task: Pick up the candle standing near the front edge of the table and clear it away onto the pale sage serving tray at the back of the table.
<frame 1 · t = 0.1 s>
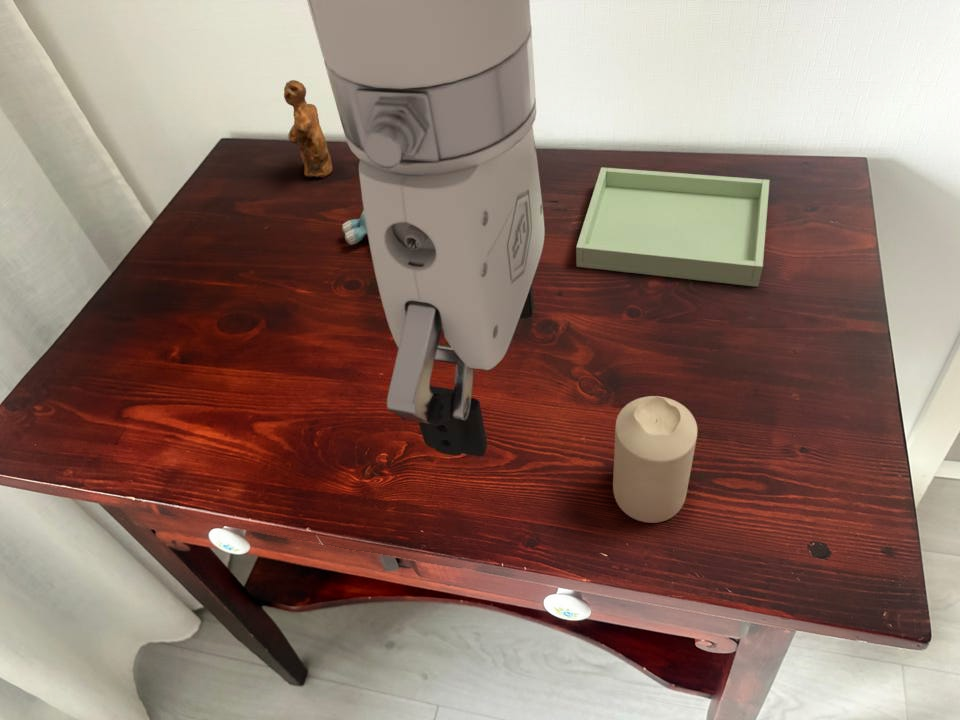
hand: (483, 374, 41), 20 cm above the table, tool pointing down, fingers open, 9 cm apart
candle: (648, 493, 58), on the table
stuffed animal: (399, 231, 83), on the table
tray: (673, 232, 77), on the table
figurine: (319, 173, 92), on the table
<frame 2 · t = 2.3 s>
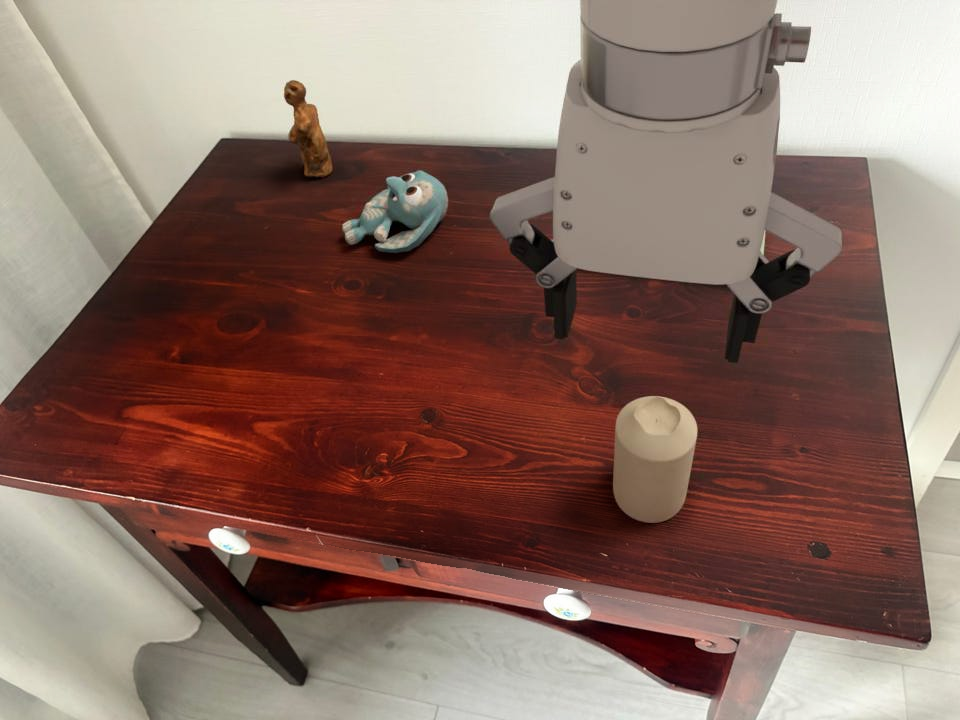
hand: (647, 332, 44), 19 cm above the table, tool pointing down, fingers open, 9 cm apart
nothing on the table moved.
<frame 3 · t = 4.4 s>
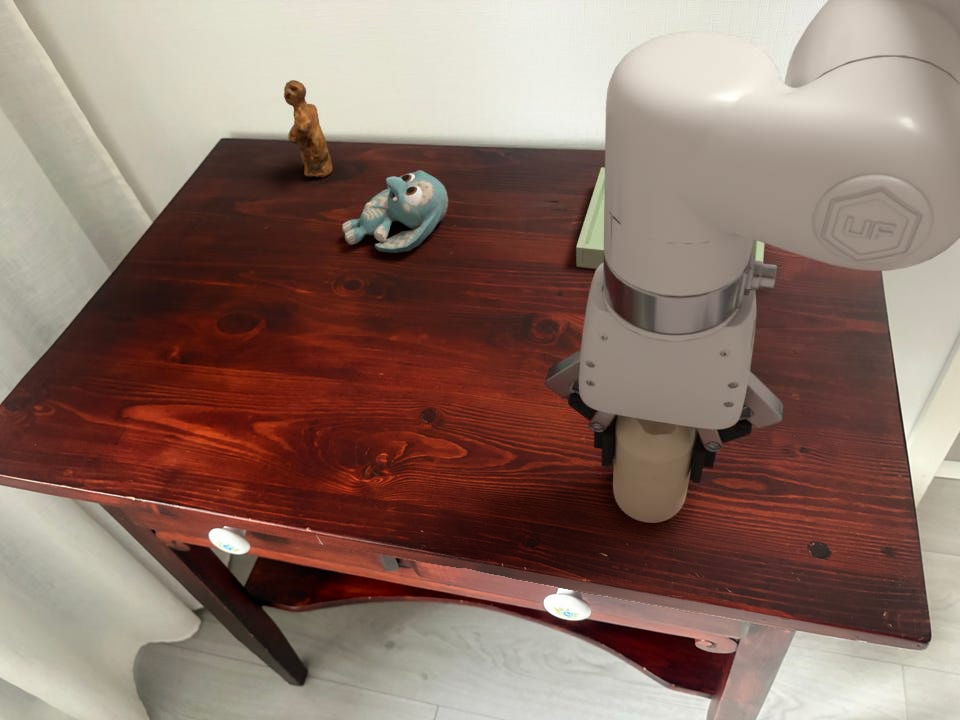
hand: (652, 456, 54), 5 cm above the table, tool pointing down, fingers closed on candle, 5 cm apart
candle: (648, 493, 58), on the table, touching gripper
everything else where it was.
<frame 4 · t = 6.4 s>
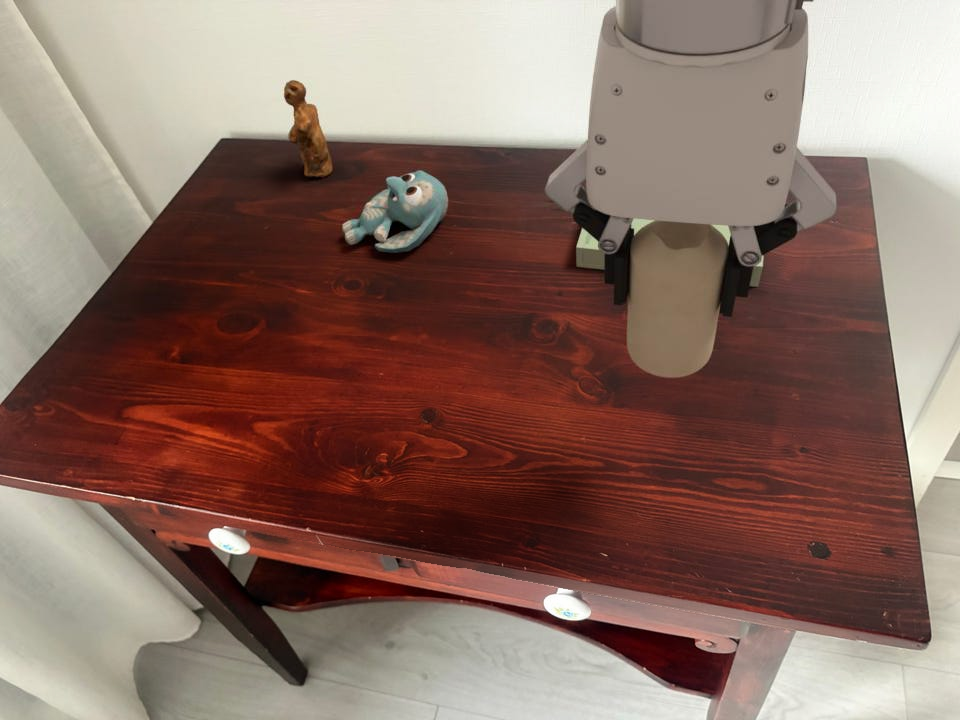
hand: (674, 292, 46), 19 cm above the table, tool pointing down, fingers closed on candle, 5 cm apart
candle: (668, 348, 50), point 14 cm above the table, touching gripper
everything else where it was.
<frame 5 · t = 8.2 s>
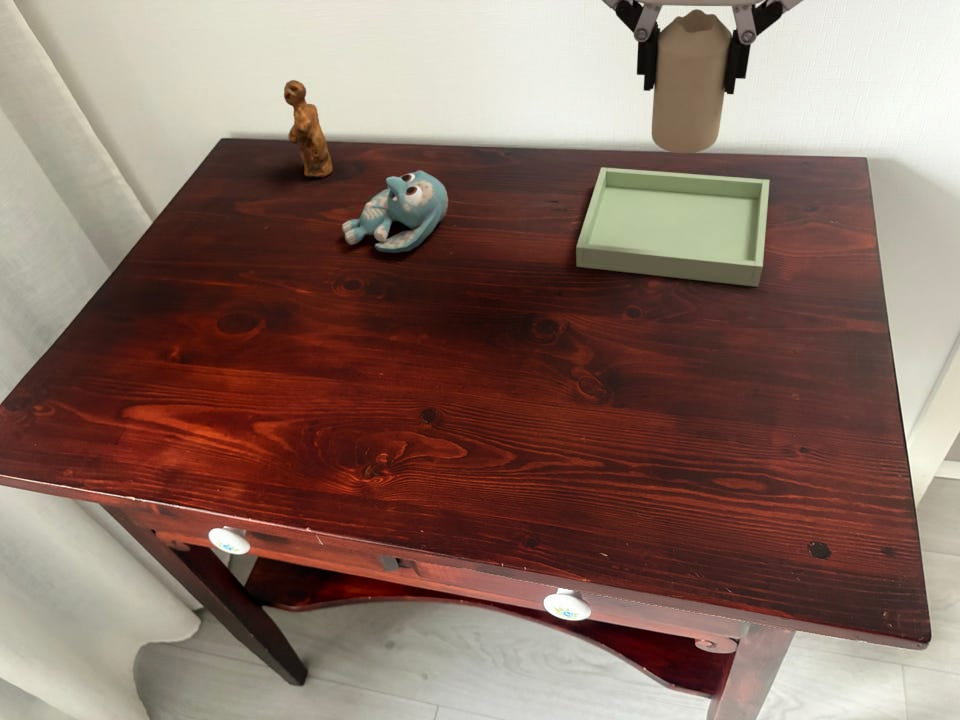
hand: (689, 81, 60), 19 cm above the table, tool pointing down, fingers closed on candle, 5 cm apart
candle: (684, 137, 64), point 14 cm above the table, touching gripper
everything else where it was.
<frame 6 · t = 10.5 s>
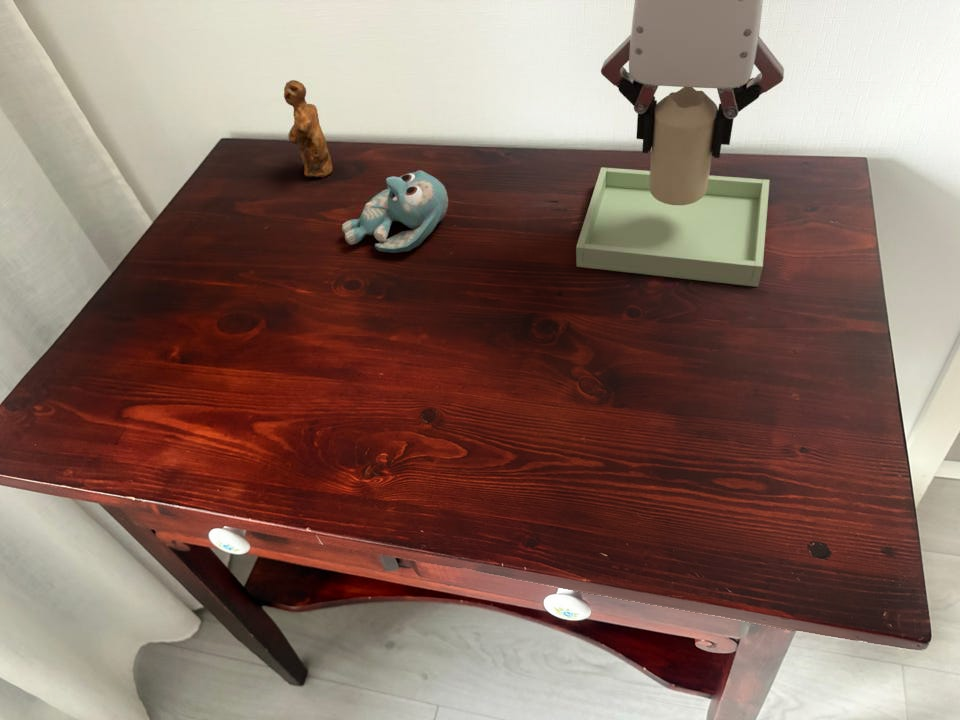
hand: (682, 145, 70), 10 cm above the table, tool pointing down, fingers closed on candle, 5 cm apart
candle: (677, 190, 73), point 5 cm above the table, touching gripper
everything else where it was.
when the fingers open (6 cm above the table, at t = 12.2 s): candle stays where it is, resting on tray.
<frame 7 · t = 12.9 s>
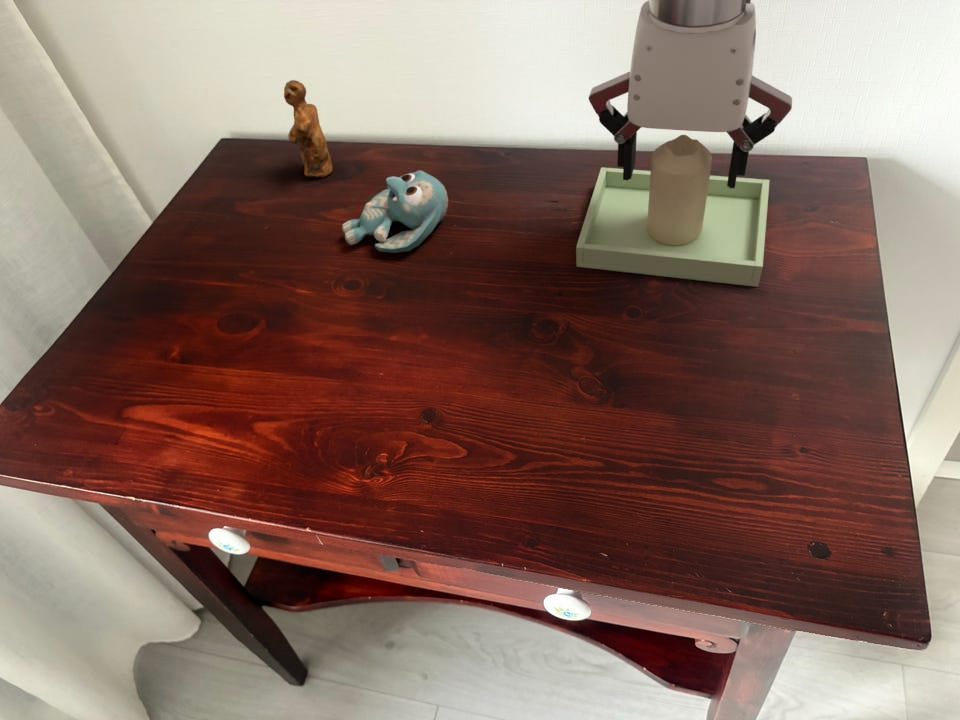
hand: (679, 175, 72), 7 cm above the table, tool pointing down, fingers open, 9 cm apart
candle: (674, 230, 77), resting on tray
everything else where it was.
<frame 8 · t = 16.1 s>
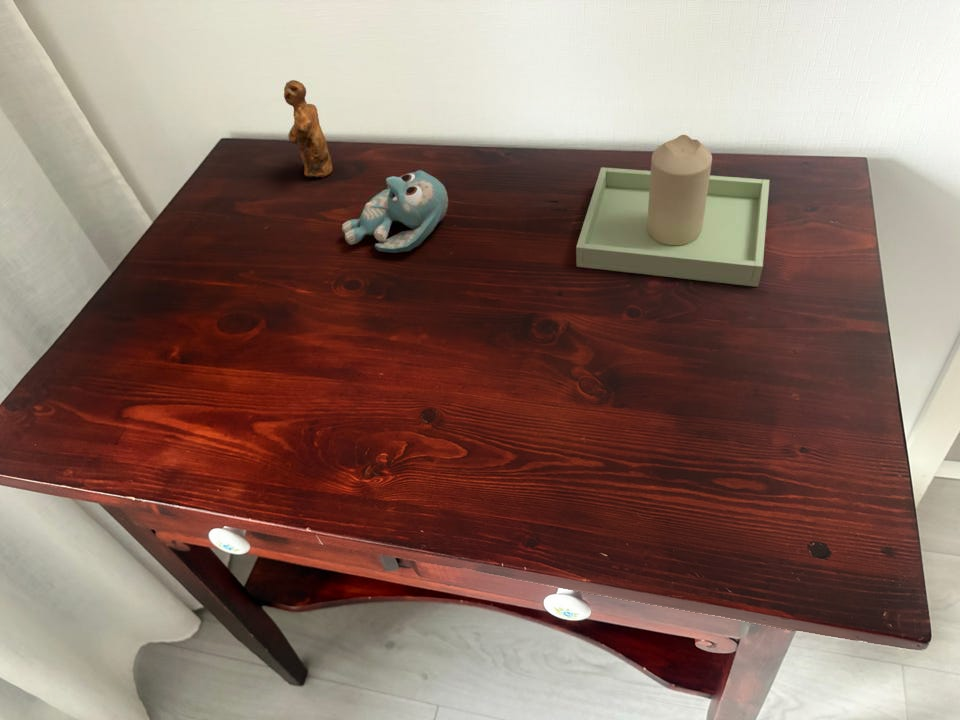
nothing on the table moved.
at the end: candle inside the target area in the tray (0.1 cm from its centre), point 0.4 cm above the tray's base; candle tilted 0°; the gripper is holding nothing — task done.
